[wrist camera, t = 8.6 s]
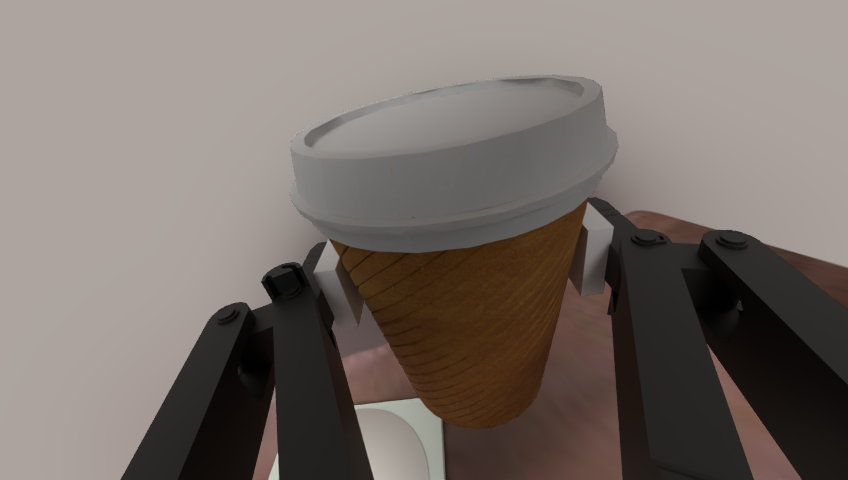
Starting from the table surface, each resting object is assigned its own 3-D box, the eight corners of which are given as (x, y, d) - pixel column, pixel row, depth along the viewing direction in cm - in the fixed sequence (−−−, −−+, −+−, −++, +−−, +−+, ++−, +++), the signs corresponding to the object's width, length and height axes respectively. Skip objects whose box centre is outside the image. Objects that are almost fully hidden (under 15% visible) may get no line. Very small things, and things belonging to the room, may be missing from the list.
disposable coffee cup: (633, 447, 12) (756, 92, 5) (377, 498, 12) (195, 208, 5) (531, 282, 20) (532, 65, 13) (381, 313, 20) (311, 111, 13)
